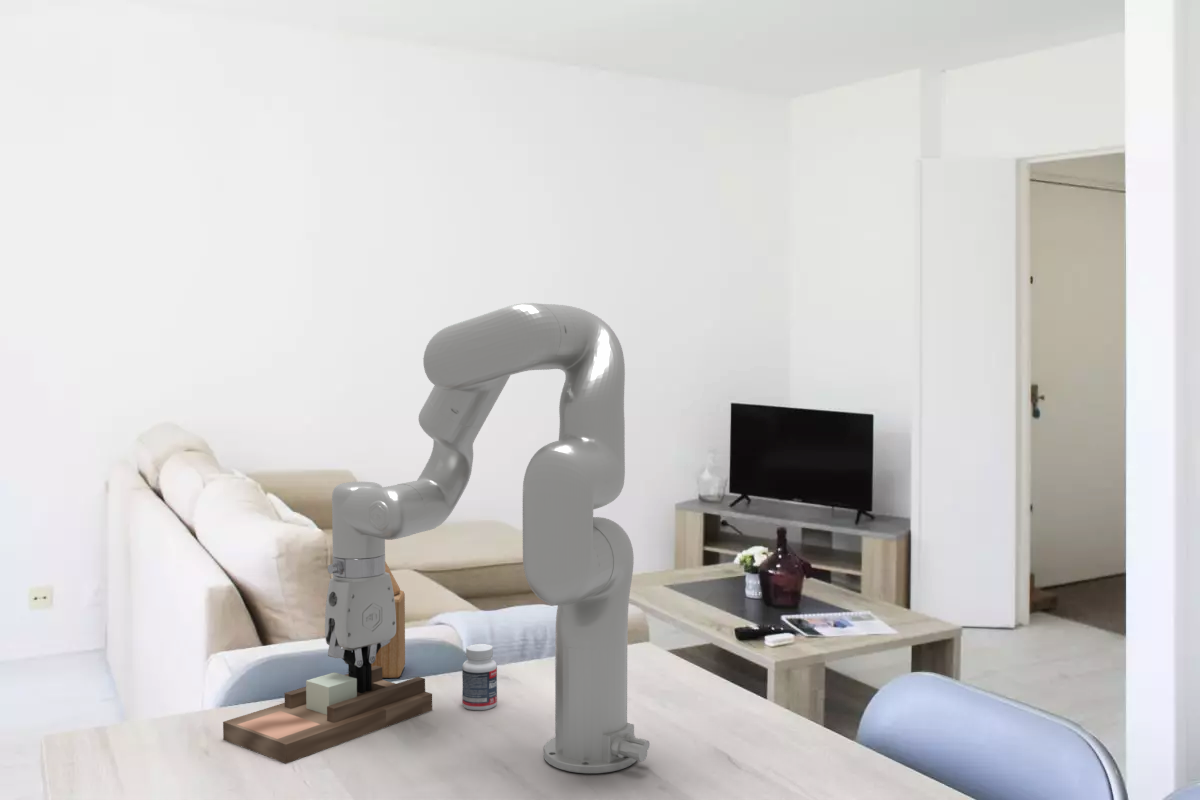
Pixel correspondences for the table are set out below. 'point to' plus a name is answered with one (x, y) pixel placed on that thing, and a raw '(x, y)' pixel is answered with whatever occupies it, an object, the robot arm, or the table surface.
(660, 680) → the table surface
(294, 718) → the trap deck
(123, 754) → the table surface
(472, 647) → the pill bottle
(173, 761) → the table surface
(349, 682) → the sage block
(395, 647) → the decorative item
